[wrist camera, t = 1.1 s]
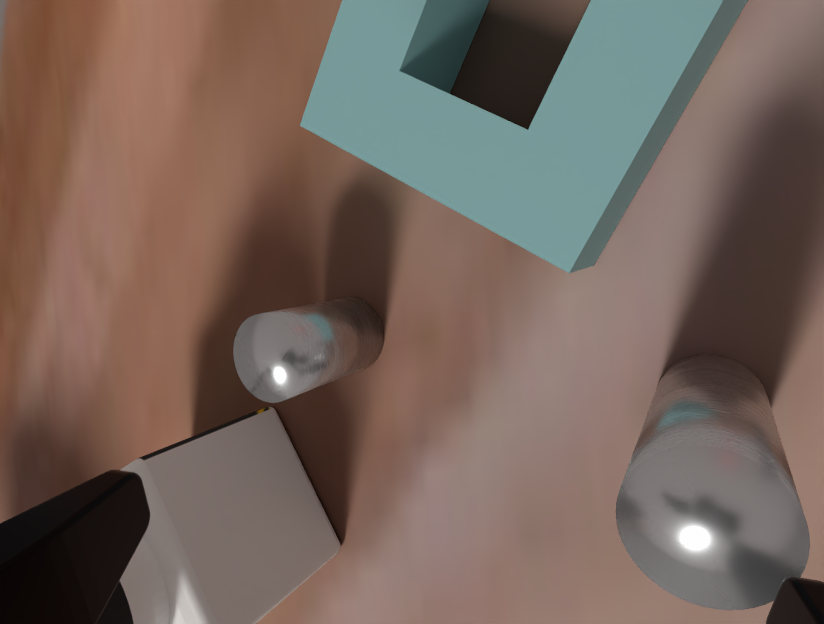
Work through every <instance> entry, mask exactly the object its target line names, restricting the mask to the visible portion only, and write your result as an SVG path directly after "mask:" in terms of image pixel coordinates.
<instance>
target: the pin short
mask: <svg viewBox="0 0 824 624" xmlns="http://www.w3.org/2000/svg"><path fill="white" fill-rule="evenodd" d="M383 343H384V332H383V327H382V323H381V320H380V318H379V316H378V315H377V313H376V311H375V310H374V309H373V308H372V307H371V306H370V305H369V304H368V303H366V302H365V301H363V300H361V299H358V298H354V297H346V298H341V299H336V300H330V301H325V302H319V303H314V304H309V305H303V306H298V307H293V308H287V309H282V310H277V311H271V312H266V313H261V314H256V315H253V316H251V317H249V318H247V319H246V320H245V321H244V322H243V323H242V324H241V326H240V327H239V329H238V331H237V333H236V336H235V340H234V347H233V356H234V363H235V367H236V370H237V373H238V375H239V378H240V379H241V381H242V383H243V384H244V386H245V387H246V388H247V390H248V391H249V392H250V393H251V394H252V395H254V396H255V397H256V398H258V399H260V400H262V401H265V402H269V403H278V402H281V401H284V400H287V399H289V398H292V397H294V396H297V395H299V394H302V393H304V392H307V391H309V390H312V389H314V388H317V387H319V386H322V385H324V384H327V383H329V382H332V381H334V380H337V379H339V378H342V377H344V376H347V375H349V374H352V373H354V372H357V371H359V370H362V369H364V368H367V367H369V366H370V365H372V364H373V363H374V362H375V361H376V360H377V359H378V357H379V355H380V353H381V351H382V348H383Z"/></svg>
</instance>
